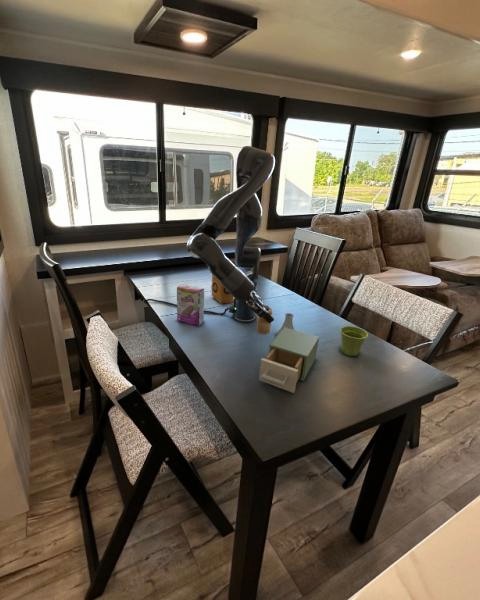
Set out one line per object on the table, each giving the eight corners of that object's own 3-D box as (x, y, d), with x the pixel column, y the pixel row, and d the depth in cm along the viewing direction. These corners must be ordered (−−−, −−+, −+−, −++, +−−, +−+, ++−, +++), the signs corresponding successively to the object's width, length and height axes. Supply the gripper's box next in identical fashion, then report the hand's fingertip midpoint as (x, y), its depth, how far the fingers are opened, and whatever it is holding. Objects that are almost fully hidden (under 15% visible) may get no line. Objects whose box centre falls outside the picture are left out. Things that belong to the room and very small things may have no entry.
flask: (285, 342, 123) (288, 320, 119) (273, 334, 129) (276, 312, 125) (299, 338, 126) (302, 316, 122) (287, 330, 132) (290, 309, 128)
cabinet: (303, 381, 101) (307, 356, 97) (267, 368, 107) (269, 344, 103) (314, 359, 112) (319, 336, 109) (281, 349, 118) (284, 327, 115)
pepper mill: (254, 331, 105) (256, 307, 101) (259, 326, 108) (261, 302, 105) (266, 335, 102) (269, 311, 99) (271, 330, 106) (274, 306, 102)
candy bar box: (176, 321, 138) (175, 287, 132) (182, 316, 143) (181, 283, 136) (199, 326, 134) (199, 291, 128) (204, 322, 138) (204, 287, 132)
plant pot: (361, 361, 112) (366, 341, 108) (333, 353, 116) (338, 333, 113) (364, 350, 119) (369, 330, 116) (338, 343, 124) (343, 323, 120)
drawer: (288, 402, 90) (292, 380, 87) (252, 388, 96) (254, 367, 93) (306, 370, 105) (309, 351, 102) (274, 360, 110) (276, 341, 107)
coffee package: (218, 305, 155) (220, 263, 147) (209, 296, 166) (210, 256, 157) (236, 302, 159) (238, 261, 150) (226, 294, 169) (227, 254, 161)
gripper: (247, 282, 91) (284, 320, 96) (242, 268, 104) (274, 302, 109) (228, 299, 93) (265, 335, 98) (226, 282, 106) (258, 315, 111)
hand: (270, 317), depth 103 cm, fingers closed on pepper mill, 4 cm apart
